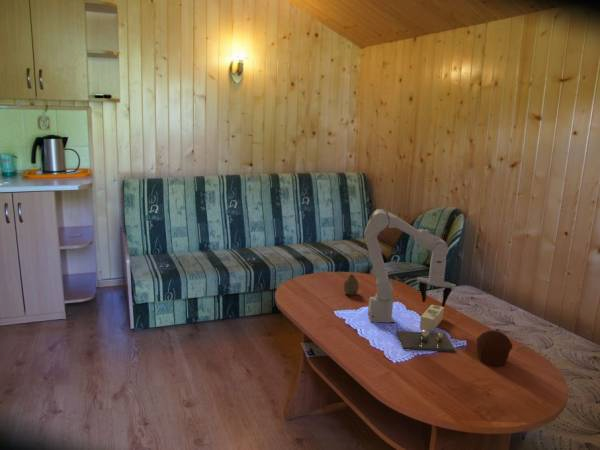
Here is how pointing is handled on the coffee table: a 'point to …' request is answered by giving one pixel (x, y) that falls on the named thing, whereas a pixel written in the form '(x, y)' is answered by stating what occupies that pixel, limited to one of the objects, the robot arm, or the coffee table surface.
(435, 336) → the flange base
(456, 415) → the coffee table surface
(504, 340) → the muffin
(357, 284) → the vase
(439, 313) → the block with holes
